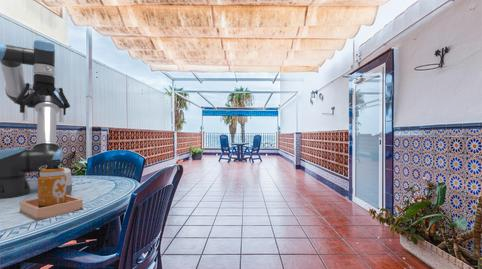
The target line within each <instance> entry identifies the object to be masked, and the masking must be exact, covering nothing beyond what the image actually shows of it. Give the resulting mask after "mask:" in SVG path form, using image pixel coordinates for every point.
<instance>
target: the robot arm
mask: <svg viewBox="0 0 482 269" xmlns="http://www.w3.org/2000/svg"><path fill="white" fill-rule="evenodd" d="M55 49H56V47H55V44H54V43H53V42H51V41H48V40H44V39H35V40H34V41H33V48H28V47H20V46H15V45H10V44H5V43H0V66H1V70H2V74H3V78H4V81H5V82H4V83H5V86H4V92H5V94H6V97H7V98H8V99H10V101H12V102H13V103H14V104H16V105H19V113H20V114H21V113H22V121H25V122H26V121H28V108H29V109H34V110H35V112H37V117H36V118H37V121H36V122H37V124H36V126H37V127H36V141H35V142H36V144H34V145H33V146H32V149H28V148H27V147H25V146H23V147H15V148H6V149H0V199H6V198H7V199H10V198H17V197H21V196H25V195H29V194H30V193H32V192H31V191H32V190H31V189H32V188H31V186H30V184H29V183H30V182H28V179H27V174H28V173H38V169H37V164H38V163H39V162H41V161H42V160H43V159H45V160H48V159H49V158H50V159H51V160H57V159H60V161H63V154H64V149H62V148H61V147H60V145H58V144H57V114H58V122H59V123H64V116H66V110H67V109H69V108H71V105H70V103H69V101H68V99H67V97H66V95H65V93H64V90H63V87H55V80H56V79H55V77H54V76H55V75H56V74H55V73H56V71H55V68H56V66H55V64H56V63H55V61H56V59H55V58H56V53H55V52H56V50H55ZM23 65H27V66H28V65H30V66H33V84H31V83H29V82H26V83H25V75H24V69H23ZM42 164H43V163H42ZM42 164H41V165H40V166H39V167H41V166H42ZM61 166H62V163H61V164H60V165H58V167H61Z"/></svg>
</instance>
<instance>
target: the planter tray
mask: <svg viewBox="0 0 482 269" xmlns="http://www.w3.org/2000/svg"><path fill="white" fill-rule="evenodd" d="M66 198H67V201H66V203H61V204H56V205H52V206H47V207H42V208H38V206H39V205H38V197H37V198H34V199H33V198H32V199H27V200H22V201H19V213H21V214H23V215H26V216H27V217H29V218H31V219H33V220H35V221H40V220H45V219H47V218H52V217H56V216H60V215H65V214H69V213H73V212H77V211H81V210H83V209H84V208H83V204H84V203H83V201H84V200H83V198H79V197H75V196H72V195H71V194H70V195H66Z"/></svg>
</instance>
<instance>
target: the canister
mask: <svg viewBox="0 0 482 269" xmlns="http://www.w3.org/2000/svg"><path fill="white" fill-rule="evenodd" d="M42 163H43V164H42ZM63 163H64V162H63V160H62V161H60V159H57V160H51V159H50V158H49V159H48V160H45V159H43V160H42V161H41V162H39V163H38V164H37V169H38V172H37V198H38V205H39V206H38V208H42V207H47V206H52V205H56V204H61V203H66V201H67V198H66V175H65V170H64V168H65V167H63V168H60V167H58V165H60V164H61V165H62V164H63ZM41 164H42V166H41V167H39V166H40V165H41Z"/></svg>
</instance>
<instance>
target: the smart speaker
mask: <svg viewBox="0 0 482 269" xmlns="http://www.w3.org/2000/svg"><path fill="white" fill-rule="evenodd" d="M60 168H64V170H65V175H66V195H70V196H71V194H72V191H73V181H72V180H73V179H72V170H71V169H70V168H68V167H63V166H62V167H60Z"/></svg>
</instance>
